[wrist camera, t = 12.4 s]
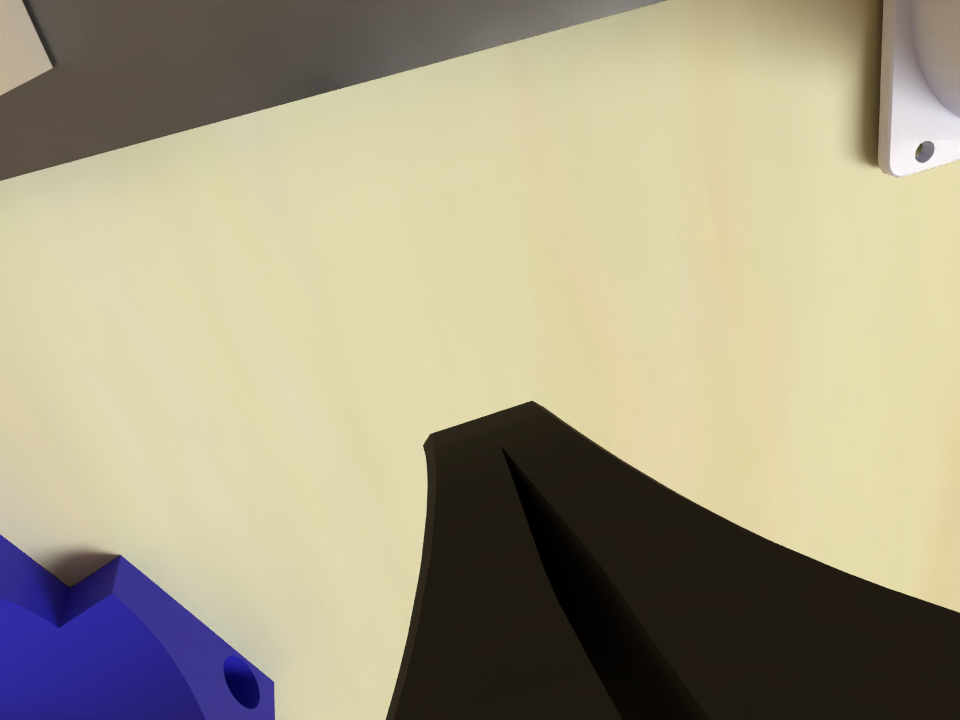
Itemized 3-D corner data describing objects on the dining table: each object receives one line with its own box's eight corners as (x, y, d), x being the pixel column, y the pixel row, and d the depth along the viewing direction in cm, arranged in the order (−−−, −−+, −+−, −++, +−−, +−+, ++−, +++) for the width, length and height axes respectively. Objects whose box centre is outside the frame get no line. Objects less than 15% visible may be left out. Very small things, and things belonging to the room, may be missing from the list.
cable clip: (273, 677, 22) (278, 894, 17) (142, 761, 23) (108, 1001, 17) (-86, 378, 16) (-245, 572, 11) (-260, 495, 17) (-496, 739, 11)
